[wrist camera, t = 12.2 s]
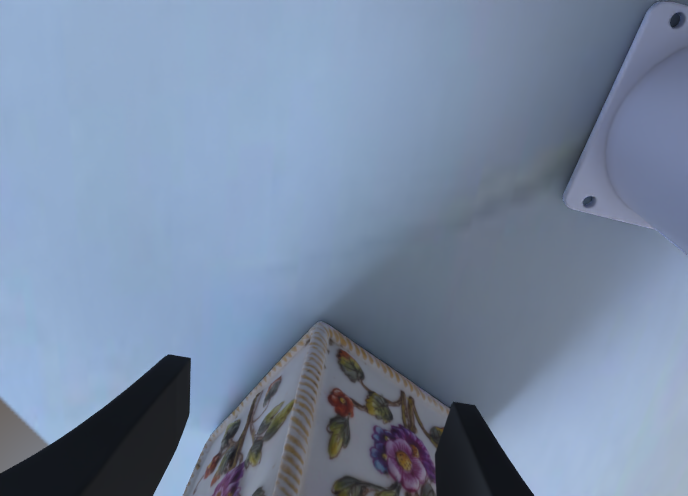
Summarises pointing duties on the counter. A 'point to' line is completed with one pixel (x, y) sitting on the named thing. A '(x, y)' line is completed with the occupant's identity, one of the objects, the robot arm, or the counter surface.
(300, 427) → the decorative jar
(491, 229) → the counter surface
